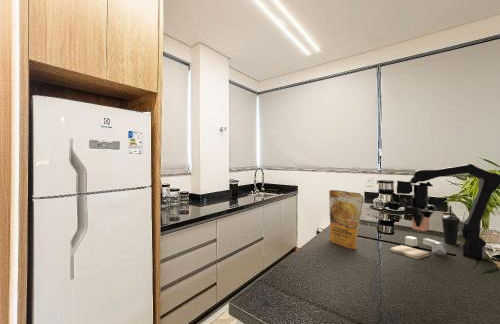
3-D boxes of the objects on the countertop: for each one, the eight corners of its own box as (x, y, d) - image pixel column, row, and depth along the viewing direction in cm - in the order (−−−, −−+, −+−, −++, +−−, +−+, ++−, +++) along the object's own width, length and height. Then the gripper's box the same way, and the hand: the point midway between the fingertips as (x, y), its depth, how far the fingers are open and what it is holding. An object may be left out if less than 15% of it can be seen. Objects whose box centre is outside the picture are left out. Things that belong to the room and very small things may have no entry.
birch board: (429, 255, 108) (429, 252, 108) (417, 259, 103) (417, 256, 103) (401, 247, 119) (401, 244, 119) (390, 250, 114) (390, 248, 114)
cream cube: (417, 245, 121) (417, 238, 121) (413, 246, 119) (413, 239, 119) (409, 243, 125) (409, 235, 125) (405, 244, 123) (405, 237, 123)
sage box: (439, 247, 119) (439, 241, 119) (435, 248, 118) (435, 242, 118) (427, 243, 124) (427, 238, 124) (423, 244, 124) (423, 238, 124)
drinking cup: (464, 245, 121) (463, 207, 122) (449, 245, 122) (449, 207, 122) (451, 240, 129) (451, 204, 129) (437, 240, 129) (437, 204, 129)
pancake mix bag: (332, 238, 132) (332, 189, 133) (364, 249, 116) (364, 192, 116) (324, 240, 129) (324, 189, 129) (355, 251, 112) (355, 193, 113)
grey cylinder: (447, 254, 110) (447, 243, 110) (442, 256, 107) (442, 245, 107) (435, 250, 114) (435, 240, 114) (430, 252, 112) (430, 242, 112)
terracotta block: (429, 229, 115) (429, 217, 115) (423, 231, 113) (423, 218, 113) (417, 227, 120) (417, 215, 120) (412, 228, 117) (412, 216, 118)
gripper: (413, 192, 128) (413, 220, 128) (393, 194, 119) (393, 224, 119) (437, 194, 118) (437, 225, 118) (417, 196, 109) (417, 230, 109)
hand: (420, 226), depth 116 cm, fingers closed on terracotta block, 5 cm apart
